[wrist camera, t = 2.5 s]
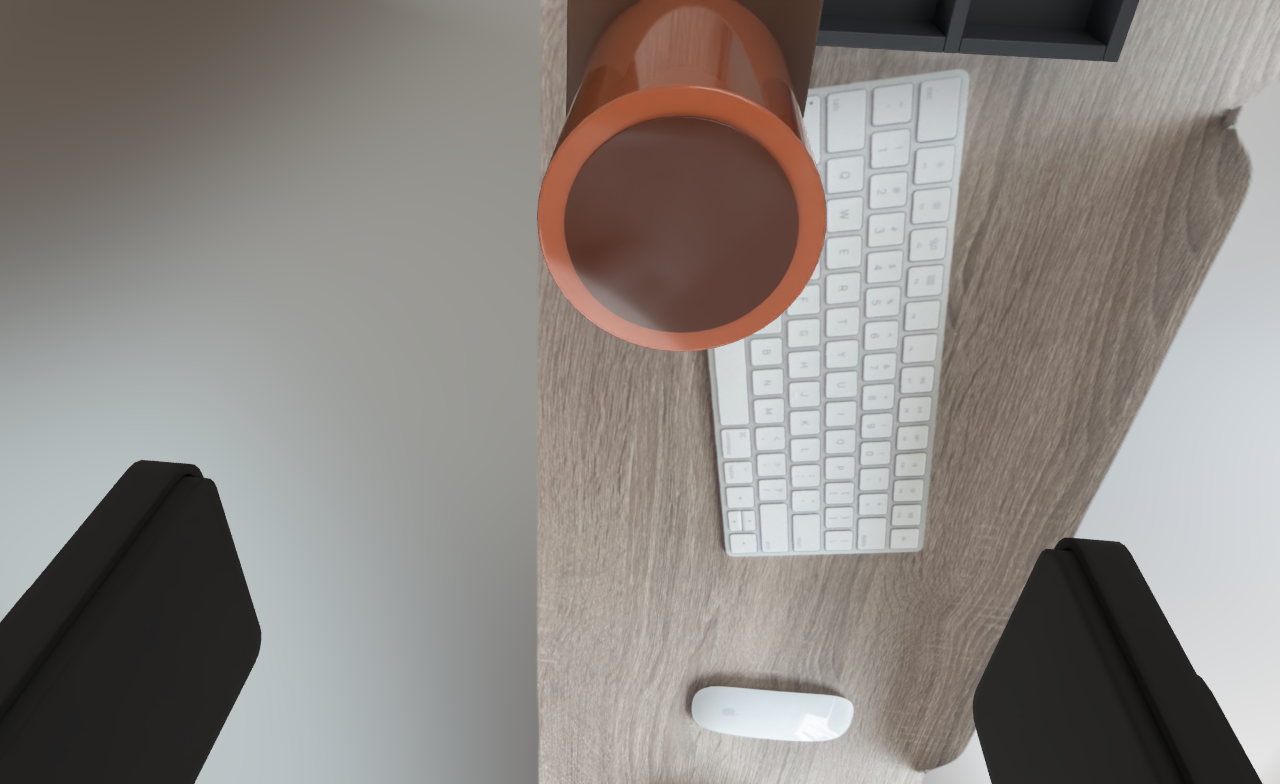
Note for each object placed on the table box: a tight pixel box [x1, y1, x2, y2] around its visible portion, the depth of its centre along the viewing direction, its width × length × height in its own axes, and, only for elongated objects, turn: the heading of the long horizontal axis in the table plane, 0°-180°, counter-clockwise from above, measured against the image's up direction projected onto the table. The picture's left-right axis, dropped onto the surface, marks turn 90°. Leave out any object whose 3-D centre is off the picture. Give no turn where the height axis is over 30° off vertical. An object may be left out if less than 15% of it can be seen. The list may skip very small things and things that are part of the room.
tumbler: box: [537, 0, 827, 351], centre depth 18 cm, size 5×5×8 cm
